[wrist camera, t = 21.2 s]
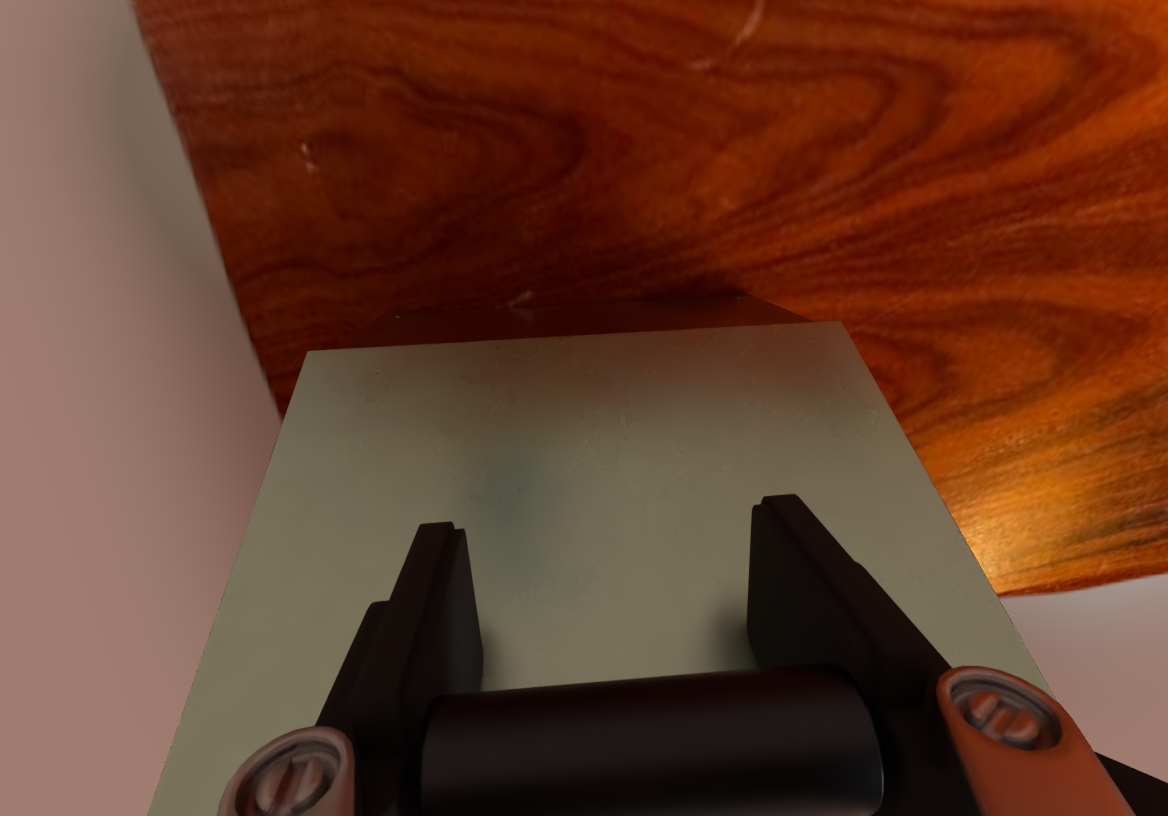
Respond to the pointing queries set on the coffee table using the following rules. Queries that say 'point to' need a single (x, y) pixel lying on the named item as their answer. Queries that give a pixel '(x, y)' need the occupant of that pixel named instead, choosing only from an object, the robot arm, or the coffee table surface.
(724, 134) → the coffee table surface
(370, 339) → the box
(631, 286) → the coffee table surface
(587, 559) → the lid
